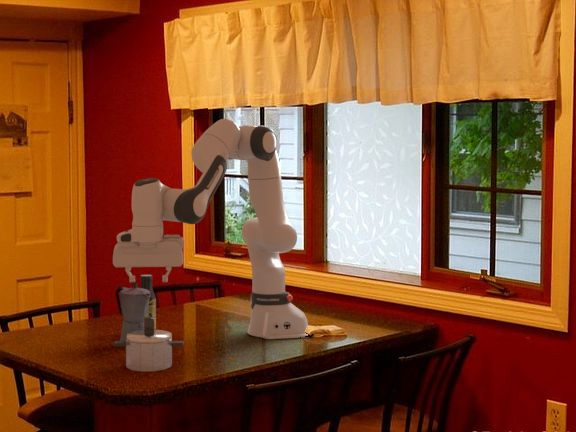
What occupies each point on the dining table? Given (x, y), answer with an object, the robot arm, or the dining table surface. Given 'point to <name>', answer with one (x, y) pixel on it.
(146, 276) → the sauce bottle
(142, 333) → the lid
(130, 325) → the moka pot
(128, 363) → the pot
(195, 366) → the dining table surface
